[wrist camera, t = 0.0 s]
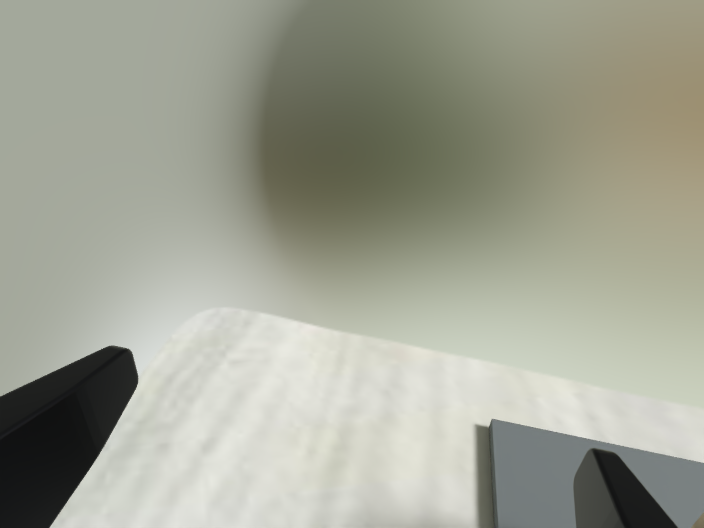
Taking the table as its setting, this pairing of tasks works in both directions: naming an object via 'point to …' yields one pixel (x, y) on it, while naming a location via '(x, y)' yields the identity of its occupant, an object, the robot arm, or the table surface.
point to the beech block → (699, 522)
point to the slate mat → (559, 470)
